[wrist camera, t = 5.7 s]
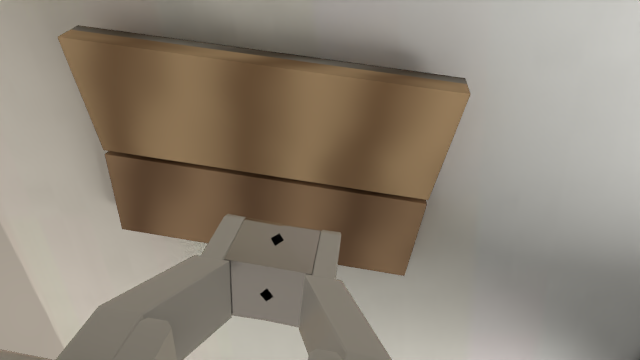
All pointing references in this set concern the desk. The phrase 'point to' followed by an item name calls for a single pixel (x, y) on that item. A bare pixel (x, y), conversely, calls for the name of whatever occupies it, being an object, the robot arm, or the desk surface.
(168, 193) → the laid board
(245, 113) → the plank
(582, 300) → the desk surface
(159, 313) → the robot arm
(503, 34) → the desk surface
